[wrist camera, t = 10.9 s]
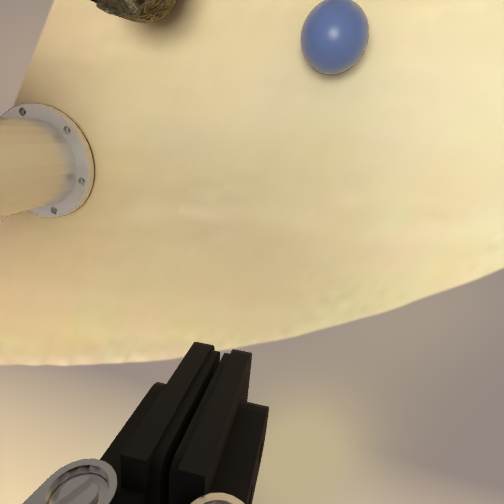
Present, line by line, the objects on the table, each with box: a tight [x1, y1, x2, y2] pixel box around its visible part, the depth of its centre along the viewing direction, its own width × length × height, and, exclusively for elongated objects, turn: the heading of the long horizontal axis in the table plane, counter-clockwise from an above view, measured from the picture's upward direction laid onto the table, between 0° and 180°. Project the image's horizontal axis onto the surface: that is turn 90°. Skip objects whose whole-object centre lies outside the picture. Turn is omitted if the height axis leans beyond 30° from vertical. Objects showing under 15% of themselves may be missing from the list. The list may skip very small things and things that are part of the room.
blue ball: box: [301, 0, 369, 74], centre depth 30 cm, size 6×6×6 cm
